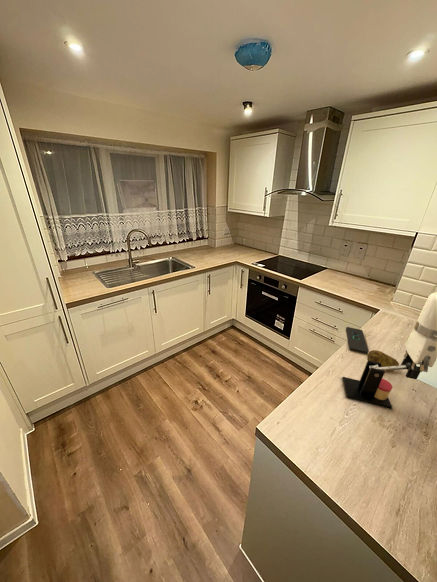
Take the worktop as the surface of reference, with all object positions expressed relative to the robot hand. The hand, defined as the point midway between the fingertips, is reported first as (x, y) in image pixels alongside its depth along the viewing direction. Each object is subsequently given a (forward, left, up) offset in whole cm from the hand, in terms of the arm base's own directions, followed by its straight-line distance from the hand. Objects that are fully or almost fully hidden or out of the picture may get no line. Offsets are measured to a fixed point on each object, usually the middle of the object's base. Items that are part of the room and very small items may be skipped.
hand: (408, 372), depth 83 cm
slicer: (+10, 0, -14) cm, 17 cm away
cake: (+6, 0, -13) cm, 14 cm away
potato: (0, -18, -14) cm, 23 cm away
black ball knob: (+4, 0, -1) cm, 4 cm away
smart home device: (+7, -36, -14) cm, 39 cm away
